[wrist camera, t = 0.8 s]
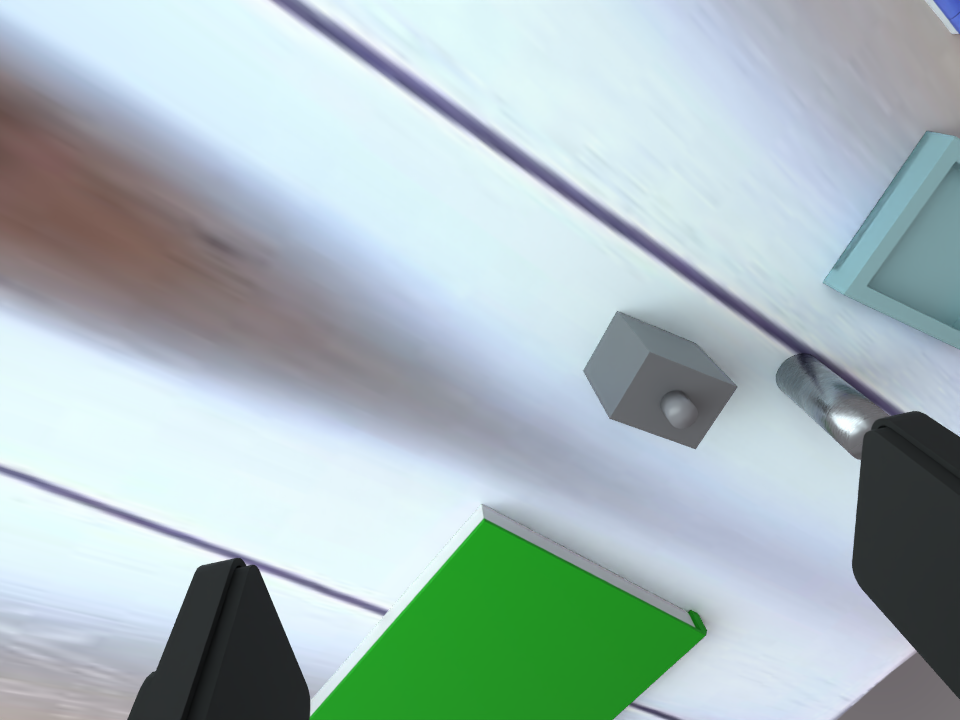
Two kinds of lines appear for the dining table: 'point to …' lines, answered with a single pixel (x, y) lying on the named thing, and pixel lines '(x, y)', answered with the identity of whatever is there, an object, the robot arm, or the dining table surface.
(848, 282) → the end holder
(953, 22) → the hard drive
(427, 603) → the green flat slab
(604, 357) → the block
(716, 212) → the dining table surface
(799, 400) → the post
